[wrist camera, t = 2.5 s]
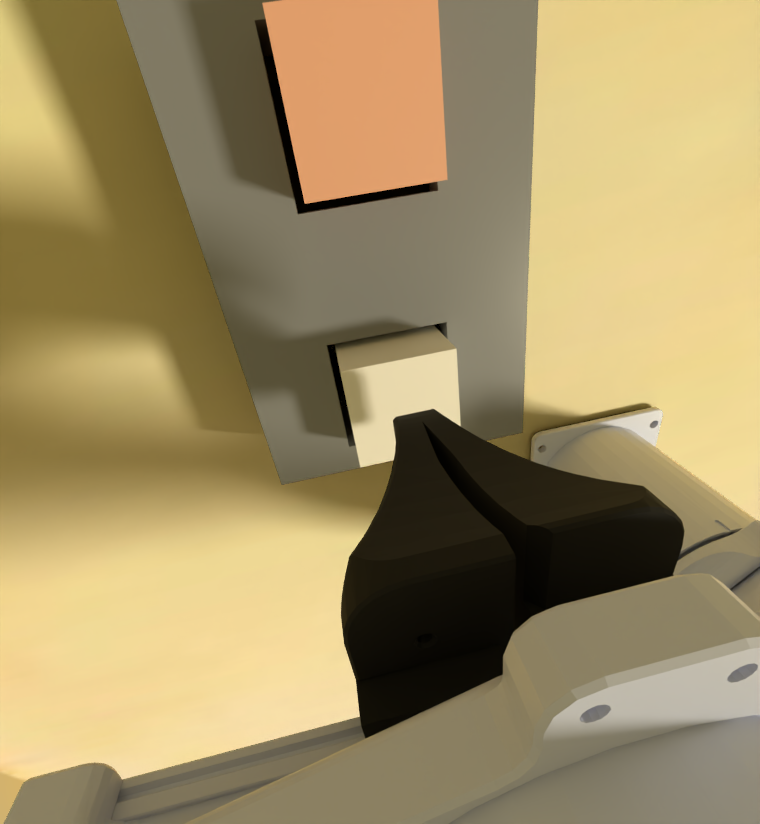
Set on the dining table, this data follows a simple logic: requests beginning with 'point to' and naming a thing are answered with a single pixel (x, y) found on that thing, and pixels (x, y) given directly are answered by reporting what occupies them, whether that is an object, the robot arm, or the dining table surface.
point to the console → (351, 219)
